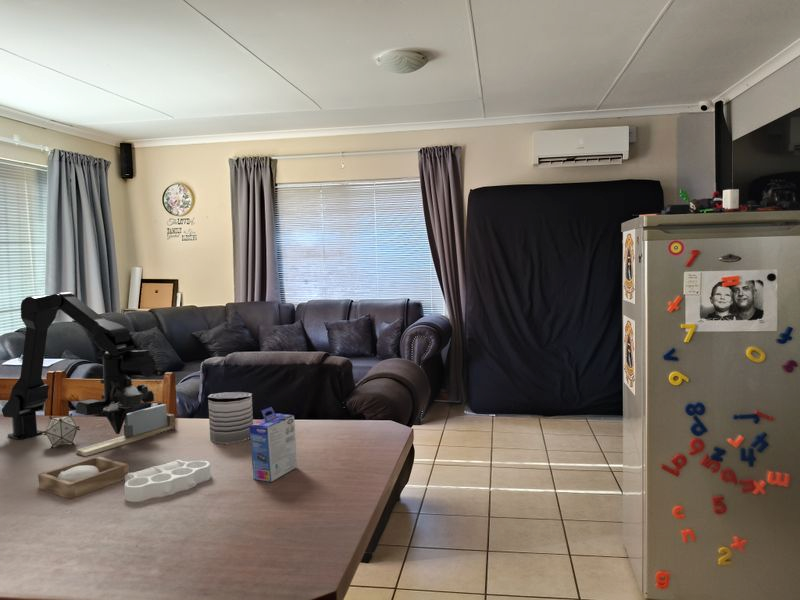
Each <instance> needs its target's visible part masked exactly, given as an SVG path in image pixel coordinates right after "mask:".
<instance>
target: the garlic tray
mask: <svg viewBox="0 0 800 600" xmlns="http://www.w3.org/2000/svg"><path fill="white" fill-rule="evenodd" d="M84 465H90V466H95V467H97V468H98V470H99V473H97V474H94V475H91V476H88V477H85V478H82V479H79V480H76V481H73V482H69V481H66V480H63V479H60V478H58V475H59V474H60V473H61V472H62V471H66V470H68V469H70V468H73V467H76V466H84ZM129 468H130V467H129V464H128V463H125V462H122V461H121V462H120V461H117V460H114V459H110V458H107V457H103V456H99V455H95V456H92V457H91V456H90V457H89V458H86V459H82V460H79V461H76V462H73V463H70V464H65V465H64V466H60V467H57V468H53V469H50V470H48V471H44V472H41V473H39V474H37V478H38V479H37V481H38V488H39V489H41V490H44V491H47V492H49V493H52V494H54V493H55V495H58V496H60V497H63V498H66V499H69V500H72V499H74V498H77V497H80V496H82V495H86V494H88V493H91V492H93V491H96V490H99V489H102V488H105V487H107V486H110V485H113V484H117V483H119V482H121V481H123V480H124V481H125V475H127V474H128V473H130V471H129V470H130V469H129Z"/></svg>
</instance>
